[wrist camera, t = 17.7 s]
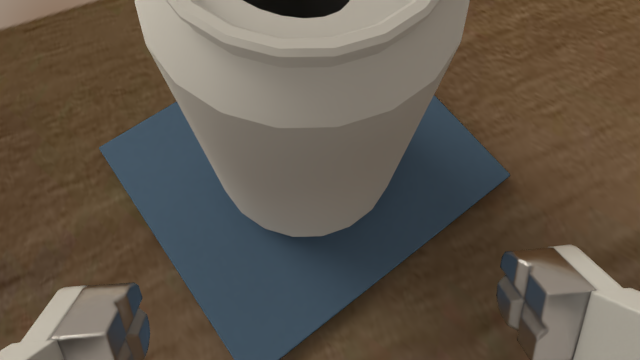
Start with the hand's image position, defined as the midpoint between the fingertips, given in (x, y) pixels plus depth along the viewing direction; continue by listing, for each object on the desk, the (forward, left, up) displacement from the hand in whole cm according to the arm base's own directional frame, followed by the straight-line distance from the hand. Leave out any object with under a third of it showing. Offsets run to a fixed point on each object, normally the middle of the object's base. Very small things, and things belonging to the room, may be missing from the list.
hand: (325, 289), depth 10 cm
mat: (+3, +6, -8) cm, 11 cm away
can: (+3, +6, -8) cm, 10 cm away
